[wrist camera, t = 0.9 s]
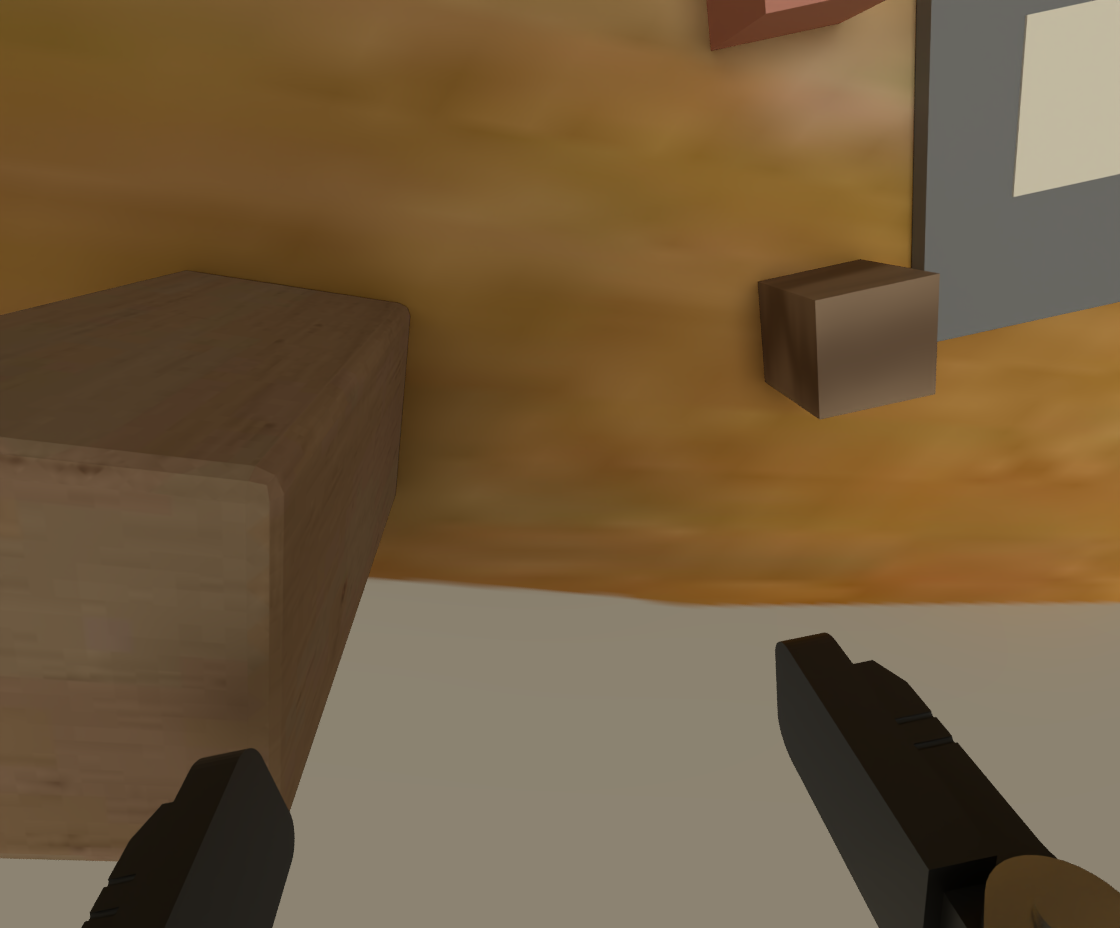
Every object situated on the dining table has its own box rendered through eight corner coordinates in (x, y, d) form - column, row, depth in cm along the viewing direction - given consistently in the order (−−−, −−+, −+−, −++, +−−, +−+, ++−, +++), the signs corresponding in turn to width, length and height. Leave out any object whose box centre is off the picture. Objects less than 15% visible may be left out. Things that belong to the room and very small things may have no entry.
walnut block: (757, 281, 31) (815, 300, 25) (859, 259, 31) (939, 273, 25) (764, 381, 33) (819, 419, 27) (860, 360, 33) (935, 394, 27)
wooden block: (396, 499, 33) (272, 876, 15) (188, 476, 32) (-235, 863, 13) (412, 303, 30) (275, 480, 11) (178, 267, 28) (-423, 403, 10)
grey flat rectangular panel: (919, -139, 25) (937, -152, 24) (1294, -218, 25) (1328, -236, 24) (910, 340, 32) (923, 345, 31) (1199, 277, 33) (1221, 279, 32)
